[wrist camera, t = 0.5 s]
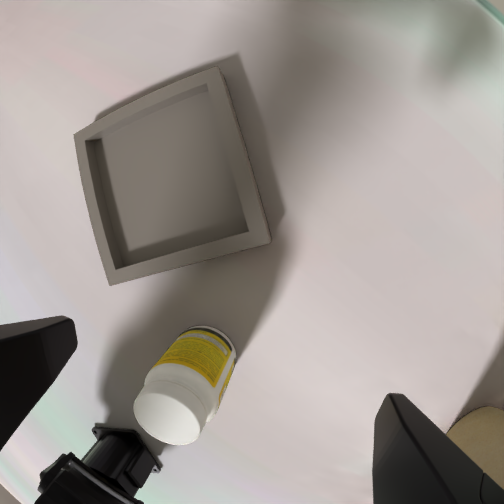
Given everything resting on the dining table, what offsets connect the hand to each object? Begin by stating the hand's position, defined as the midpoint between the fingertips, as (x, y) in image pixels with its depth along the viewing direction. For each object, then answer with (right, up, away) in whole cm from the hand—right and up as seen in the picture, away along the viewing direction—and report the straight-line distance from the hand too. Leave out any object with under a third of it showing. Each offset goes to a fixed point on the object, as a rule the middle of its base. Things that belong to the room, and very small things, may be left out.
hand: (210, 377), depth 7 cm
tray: (-5, +8, +13) cm, 16 cm away
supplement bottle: (-2, -4, +15) cm, 16 cm away
